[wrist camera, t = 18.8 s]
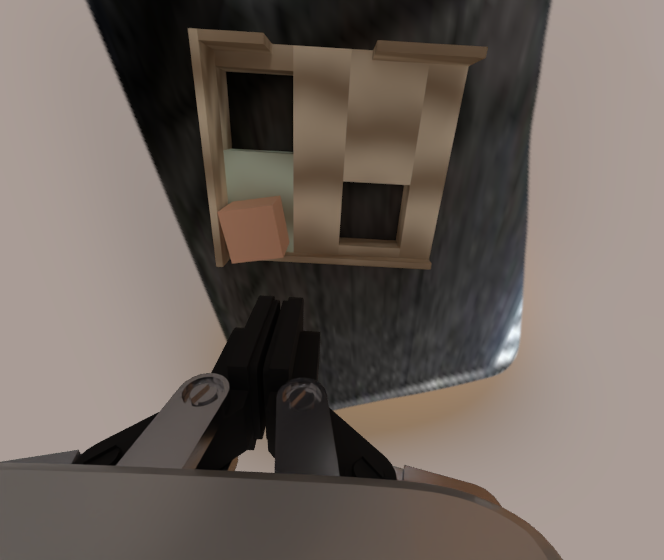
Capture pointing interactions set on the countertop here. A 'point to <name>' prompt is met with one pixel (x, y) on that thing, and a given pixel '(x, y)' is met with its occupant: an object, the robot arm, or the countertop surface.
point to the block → (255, 229)
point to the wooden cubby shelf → (336, 138)
